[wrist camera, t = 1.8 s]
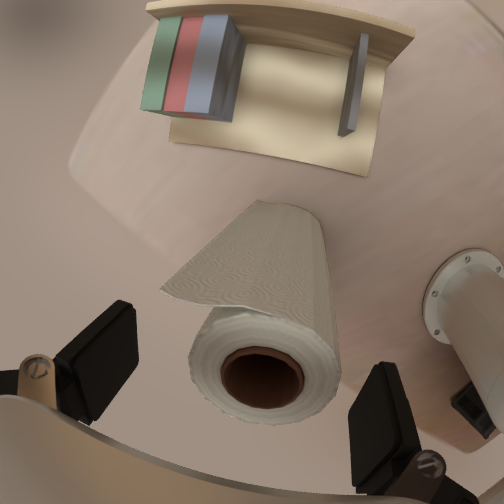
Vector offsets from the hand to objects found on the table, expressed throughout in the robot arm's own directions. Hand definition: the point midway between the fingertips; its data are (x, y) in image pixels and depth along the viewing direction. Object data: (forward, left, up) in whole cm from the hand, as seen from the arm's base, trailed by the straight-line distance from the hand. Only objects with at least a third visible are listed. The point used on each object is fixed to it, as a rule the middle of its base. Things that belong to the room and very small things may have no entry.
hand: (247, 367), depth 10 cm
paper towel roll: (0, 0, -22) cm, 22 cm away
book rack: (+4, -13, -21) cm, 25 cm away
